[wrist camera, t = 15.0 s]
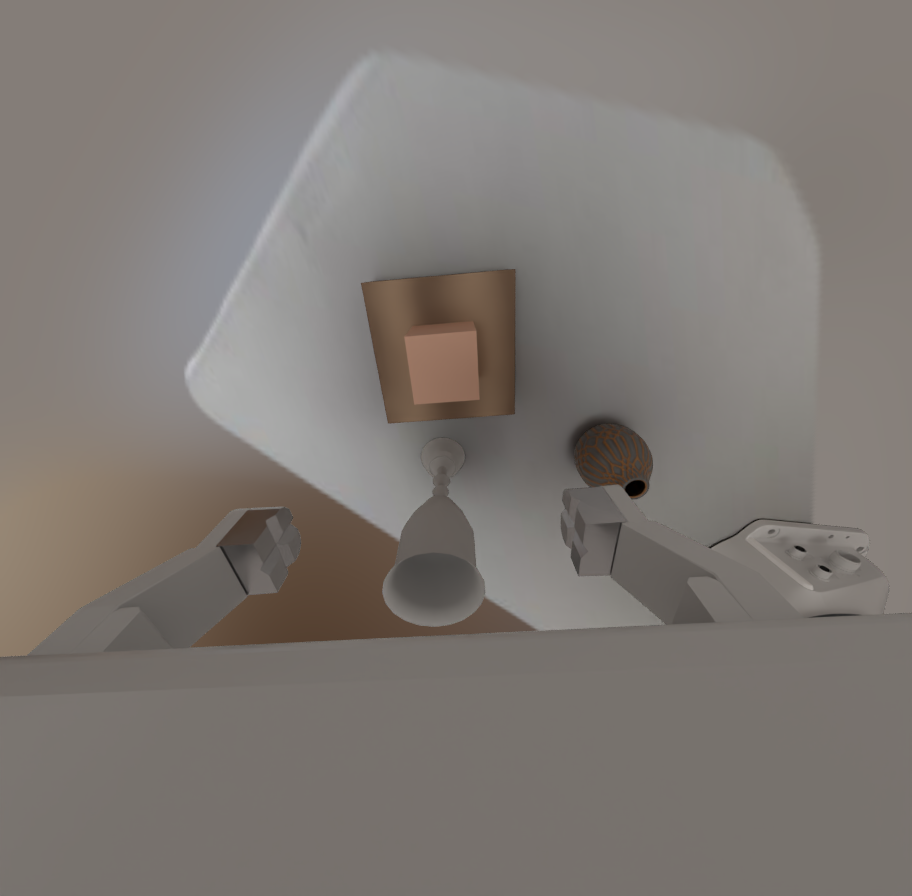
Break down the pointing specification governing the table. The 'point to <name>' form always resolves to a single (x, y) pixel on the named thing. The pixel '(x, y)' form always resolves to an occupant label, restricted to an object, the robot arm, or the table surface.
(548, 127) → the table surface
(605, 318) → the table surface
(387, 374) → the board
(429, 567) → the chalice
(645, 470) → the vase
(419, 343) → the block
